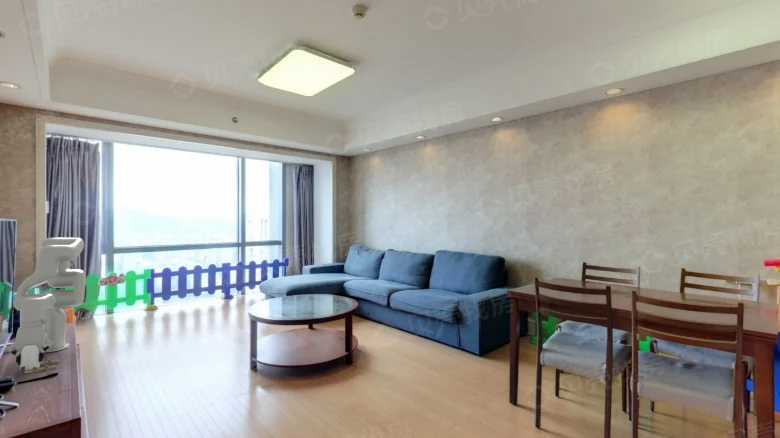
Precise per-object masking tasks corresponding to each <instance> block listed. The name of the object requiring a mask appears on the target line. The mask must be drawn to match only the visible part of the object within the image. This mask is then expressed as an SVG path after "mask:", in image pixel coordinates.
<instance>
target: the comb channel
mask: <svg viewBox="0 0 780 438" xmlns="http://www.w3.org/2000/svg"><path fill="white" fill-rule="evenodd" d="M54 364H60V359H57V360H52V358H51V359H48V360H47V361H41V362H40V366H44V367H40V366H39V368H37V367H33V369H30V370H25V366H23V367H21V370H20V375H24V374H30V373H37V372H42V371H43V370H45V371H49V370H55V369H58V368H57V367H58V366H57V365H54ZM49 365H51V366H49Z"/></svg>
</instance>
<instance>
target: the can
mask: <svg viewBox="0 0 780 438" xmlns="http://www.w3.org/2000/svg"><path fill="white" fill-rule="evenodd" d="M39 354H40V350H39V348H37V346H35V345H34V344H32V345H26V346H25V347H24V348H23V349H22V350H21V361H20V365H19V370H20V371H21V367H23V366H25V370H30V369H33V367H37V368H40V363H41V362H39Z"/></svg>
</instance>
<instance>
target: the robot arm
mask: <svg viewBox="0 0 780 438" xmlns="http://www.w3.org/2000/svg"><path fill="white" fill-rule="evenodd" d="M84 247H85V242H84V240H83V239H82V238H80V237H48V238H44V239H43V240H42V242H41V249H40V250H39V254H38V257H37V262H36V265H35V268H34V272H33V274H31V275H29V276H28V277H27V278H26V279H25V280H24V281H23V282H21V284H20V285H19V286H18V287H17V290H16V293H15V296H14V301H13V307H14V309H15V310H17V311H20V327H18V329H17V332H16V336H15V341H14V342H13V343H12V344H11V345H9V346H8V347H7V348H6V351H7V352H9V353H10V354H12V355H14V357H16V358H15V359H16V360H15V363H16V364H17V366H20V361H21V350H22V349H23V348H24V347H25V346H26V345H32V344H34V345H35V346H37V348H39V350H40V354H39V362H40V363H41V362H43V360H44V359H45V353H52V352H58V351H62V350H65V349H68V348H69V346H70V343H68V342H66V336H67V313H66V312H65V310H64V309H63V308H75V307H79V306H81V305H82V304H83V303H84V300H85V292H86V291H85V290H86V279H87V278H86V272H85V271H84V270H82V269H77V268H76V269H70V266H71V262H73V261H75V260H76V259H77V258H78V257H79V255H80V254H81V253H83V249H84ZM45 281H47V282H46V284H47V285H48V287H50V288H72V289H53V290H52V289H51V290H46V291H45V292H44V293H29V294H28V292H29V290H30V289H31V288H32V287H34V286H36V285H38V284H40V283H42V282H45Z"/></svg>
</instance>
